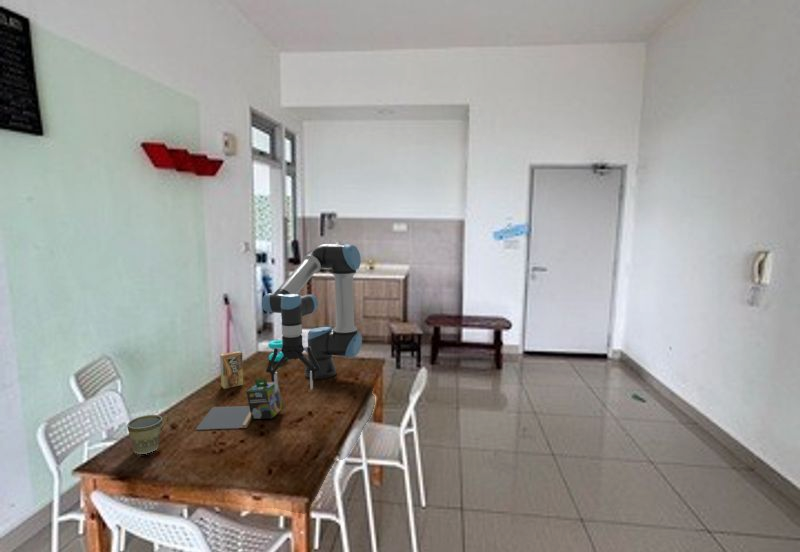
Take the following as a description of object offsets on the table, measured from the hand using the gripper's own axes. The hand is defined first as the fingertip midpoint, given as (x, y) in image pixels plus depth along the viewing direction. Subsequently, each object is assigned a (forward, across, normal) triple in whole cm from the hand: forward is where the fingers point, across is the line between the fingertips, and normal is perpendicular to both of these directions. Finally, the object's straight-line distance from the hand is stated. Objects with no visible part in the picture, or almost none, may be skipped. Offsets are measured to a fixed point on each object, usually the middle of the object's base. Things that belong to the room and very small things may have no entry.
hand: (294, 388), depth 174 cm
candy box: (+11, +33, -35) cm, 49 cm away
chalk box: (+10, +10, 0) cm, 15 cm away
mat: (+11, +25, 0) cm, 27 cm away
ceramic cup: (+11, +44, +22) cm, 50 cm away
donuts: (+11, +18, -74) cm, 77 cm away
